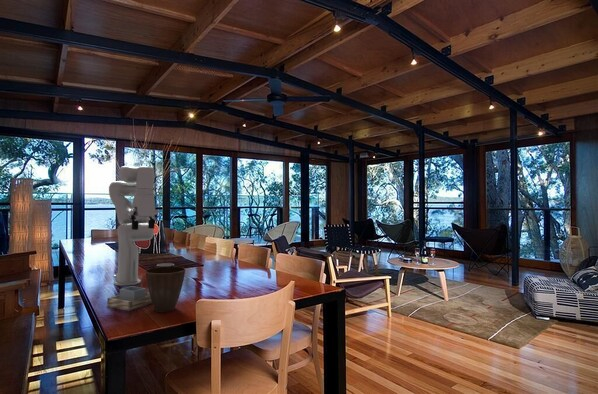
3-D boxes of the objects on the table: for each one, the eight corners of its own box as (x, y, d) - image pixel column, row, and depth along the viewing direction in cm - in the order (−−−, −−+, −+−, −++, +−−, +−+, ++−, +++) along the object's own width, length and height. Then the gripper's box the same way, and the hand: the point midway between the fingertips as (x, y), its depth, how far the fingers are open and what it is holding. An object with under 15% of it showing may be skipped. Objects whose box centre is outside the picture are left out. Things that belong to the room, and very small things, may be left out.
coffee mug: (177, 282, 180) (177, 264, 180) (165, 286, 172) (166, 266, 172) (159, 280, 184) (160, 262, 184) (147, 284, 176) (148, 264, 176)
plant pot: (143, 317, 125) (145, 274, 126) (144, 305, 139) (146, 267, 139) (185, 313, 131) (187, 272, 132) (182, 302, 145) (183, 265, 145)
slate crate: (119, 303, 139) (119, 289, 139) (131, 299, 145) (131, 285, 145) (133, 306, 136) (134, 291, 137) (145, 302, 142) (145, 288, 142)
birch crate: (107, 306, 137) (107, 298, 137) (134, 298, 149) (134, 290, 149) (129, 311, 132) (130, 302, 132) (155, 302, 145) (156, 294, 145)
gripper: (152, 193, 168) (151, 227, 167) (123, 191, 152) (121, 229, 151) (164, 193, 165) (163, 228, 165) (135, 192, 149) (134, 230, 149)
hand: (143, 229), depth 158 cm, fingers open, 9 cm apart
